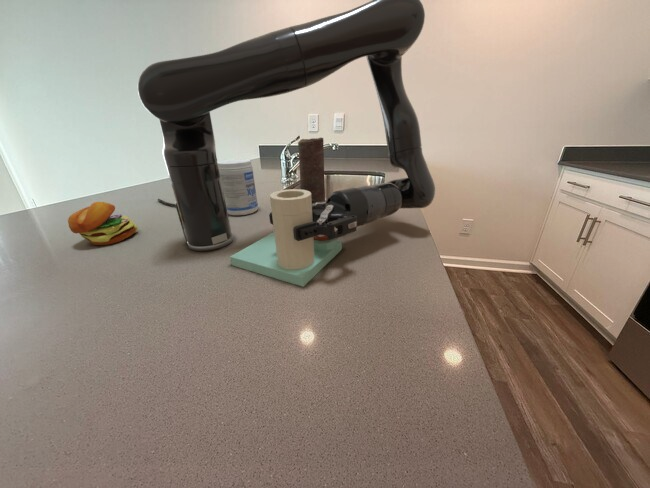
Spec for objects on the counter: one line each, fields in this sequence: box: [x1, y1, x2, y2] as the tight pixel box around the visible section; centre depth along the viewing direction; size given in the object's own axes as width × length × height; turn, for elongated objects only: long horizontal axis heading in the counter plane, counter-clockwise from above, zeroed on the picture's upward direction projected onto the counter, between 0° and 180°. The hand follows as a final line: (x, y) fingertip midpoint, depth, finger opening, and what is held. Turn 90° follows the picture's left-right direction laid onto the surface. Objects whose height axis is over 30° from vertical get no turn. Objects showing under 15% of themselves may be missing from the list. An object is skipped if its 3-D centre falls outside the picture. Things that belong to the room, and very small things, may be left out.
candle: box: [297, 137, 326, 203], centre depth 76 cm, size 8×7×20 cm
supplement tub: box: [217, 158, 259, 216], centre depth 75 cm, size 10×10×15 cm
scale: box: [229, 231, 343, 288], centre depth 50 cm, size 16×15×4 cm
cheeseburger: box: [67, 201, 139, 246], centre depth 59 cm, size 10×11×10 cm
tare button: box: [314, 235, 329, 241], centre depth 51 cm, size 3×3×2 cm
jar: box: [269, 188, 314, 270], centre depth 43 cm, size 6×6×12 cm
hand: (281, 226), depth 42 cm, fingers open, 8 cm apart
